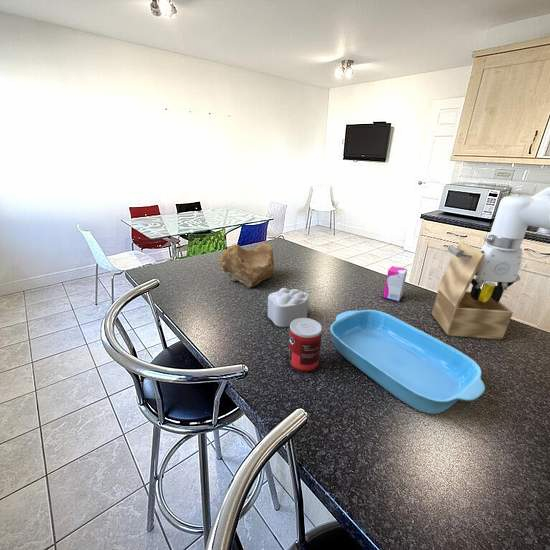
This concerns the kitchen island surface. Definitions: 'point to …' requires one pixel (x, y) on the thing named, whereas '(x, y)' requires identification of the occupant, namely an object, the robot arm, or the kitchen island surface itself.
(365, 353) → the casserole dish
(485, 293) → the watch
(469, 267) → the lid
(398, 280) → the supplement box
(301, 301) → the lumpy-topped squat cylinder
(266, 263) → the jagged tan rock
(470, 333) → the chest
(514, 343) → the kitchen island surface
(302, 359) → the canned food
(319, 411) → the kitchen island surface
